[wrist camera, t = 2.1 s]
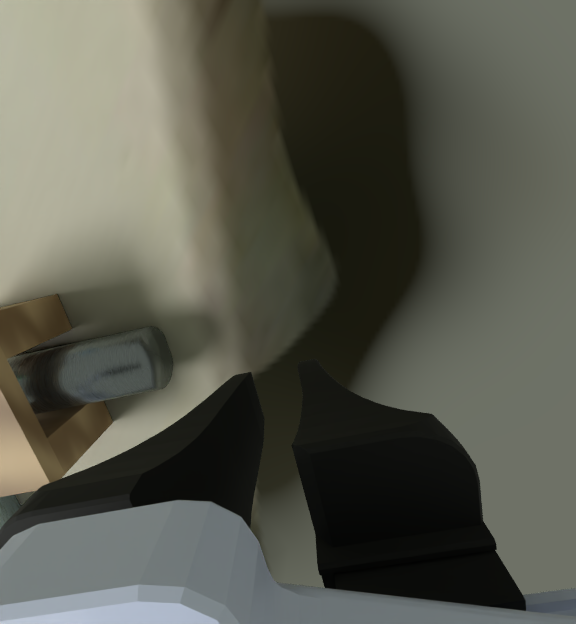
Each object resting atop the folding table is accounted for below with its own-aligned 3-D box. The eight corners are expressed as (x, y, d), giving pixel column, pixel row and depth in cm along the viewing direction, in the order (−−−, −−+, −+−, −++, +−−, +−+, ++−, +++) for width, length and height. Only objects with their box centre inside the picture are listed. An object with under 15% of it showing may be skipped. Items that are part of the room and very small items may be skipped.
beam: (112, 422, 23) (52, 487, 17) (51, 434, 24) (-28, 502, 18) (57, 294, 21) (-37, 320, 15) (-11, 310, 21) (-127, 342, 15)
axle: (178, 367, 22) (156, 402, 19) (26, 398, 23) (-24, 438, 19) (157, 317, 21) (129, 343, 17) (-3, 352, 22) (-63, 385, 18)
